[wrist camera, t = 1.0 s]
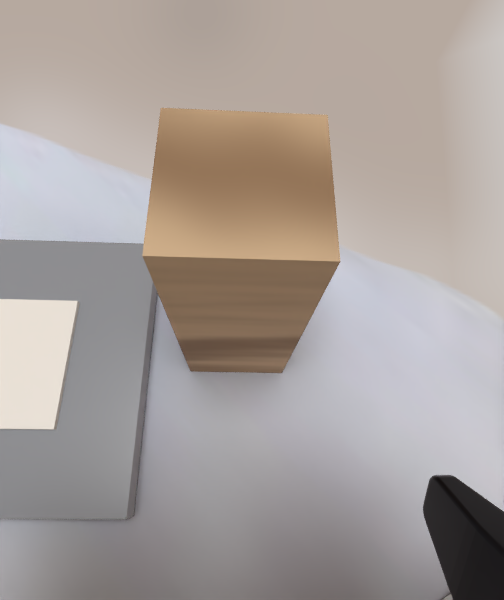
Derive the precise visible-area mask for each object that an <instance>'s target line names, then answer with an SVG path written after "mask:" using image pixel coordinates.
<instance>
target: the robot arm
mask: <svg viewBox="0 0 504 600" xmlns="http://www.w3.org/2000/svg"><path fill="white" fill-rule="evenodd" d="M423 513H424V518H425V521H426V524H427V527H428V530H429V533H430V535H431V538H432V541H433V544H434V547H435V550H436V553H437V556H438V559H439V561H440V564H441V567H442V570H443V573H444V576H445V579H446V582H447V585H448V587H449V590H450V593H451V595H452V598H453V600H504V512H503V511H502V510H501V509H499V508H498V507H496V506H495V505H494V504H492V503H491V502H489V501H488V500H487V499H485V498H484V497H482V496H481V495H480V494H478V493H477V492H475V491H474V490H473V489H471V488H470V487H468V486H467V485H466V484H464V483H463V482H461V481H460V480H459V479H457V478H456V477H454V476H451V475H435V476H432V477H431V478H430V480H429V484H428V488H427V492H426V496H425V500H424V505H423Z"/></svg>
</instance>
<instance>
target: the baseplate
mask: <svg viewBox="0 0 504 600" xmlns="http://www.w3.org/2000/svg"><path fill="white" fill-rule="evenodd" d="M143 246H144V244H135V243H101V242H67V241H33V240H0V519H128V518H130V517H132V516H134V509H135V500H136V491H137V481H138V472H139V462H140V453H141V443H142V434H143V424H144V415H145V405H146V396H147V386H148V377H149V367H150V358H151V348H152V339H153V329H154V320H155V311H156V301H157V290H156V287H155V285H154V283H153V280H152V278H151V276H150V273H149V271H148V268H147V266H146V264H145V261H144V259H143V256H142V254H143Z"/></svg>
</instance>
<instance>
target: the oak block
mask: <svg viewBox="0 0 504 600" xmlns="http://www.w3.org/2000/svg"><path fill="white" fill-rule="evenodd" d="M332 174H333V173H332V161H331V150H330V138H329V127H328V116H327V115H314V114H291V113H290V114H289V113H268V112H267V113H266V112H244V111H222V110H199V109H198V110H197V109H174V108H161V112H160V119H159V128H158V136H157V143H156V152H155V159H154V167H153V176H152V183H151V191H150V199H149V207H148V214H147V222H146V230H145V238H144V246H143V254H142V256H143V259H144V261H145V264H146V266H147V268H148V271H149V273H150V276H151V278H152V280H153V283H154V285H155V287H156V290H157V292H158V295H159V297H160V299H161V302H162V304H163V307H164V309H165V311H166V314H167V316H168V318H169V321H170V323H171V326H172V328H173V330H174V333H175V335H176V338H177V340H178V342H179V345H180V347H181V350H182V352H183V354H184V357H185V359H186V361H187V364H188V366H189V369H190V371H200V372H259V373H282V372H283V370H284V368H285V366H286V364H287V362H288V360H289V358H290V356H291V355H292V353H293V351H294V349H295V347H296V345H297V343H298V341H299V339H300V337H301V335H302V334H303V332H304V330H305V328H306V326H307V324H308V322H309V320H310V318H311V316H312V314H313V313H314V311H315V309H316V307H317V305H318V303H319V301H320V299H321V297H322V295H323V293H324V292H325V290H326V288H327V286H328V284H329V282H330V280H331V278H332V276H333V274H334V272H335V271H336V269H337V267H338V265H339V263H340V253H339V242H338V230H337V219H336V208H335V196H334V184H333V175H332Z"/></svg>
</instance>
